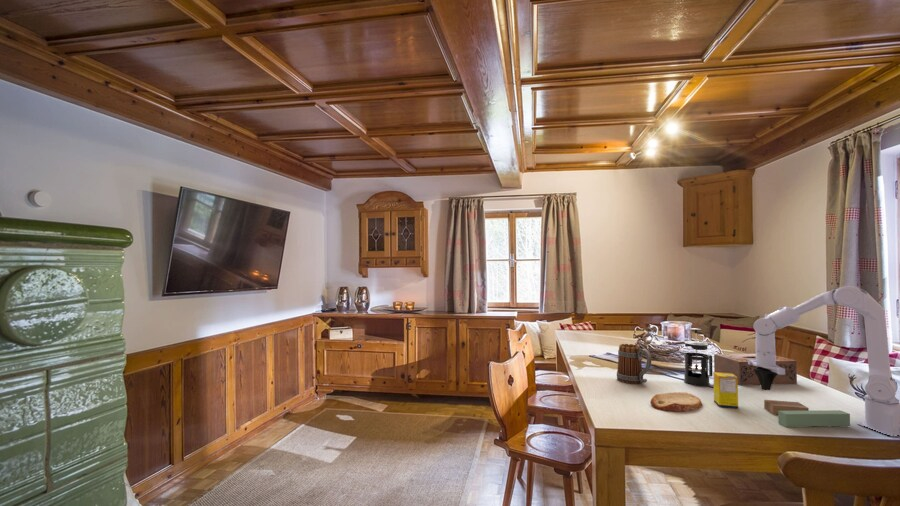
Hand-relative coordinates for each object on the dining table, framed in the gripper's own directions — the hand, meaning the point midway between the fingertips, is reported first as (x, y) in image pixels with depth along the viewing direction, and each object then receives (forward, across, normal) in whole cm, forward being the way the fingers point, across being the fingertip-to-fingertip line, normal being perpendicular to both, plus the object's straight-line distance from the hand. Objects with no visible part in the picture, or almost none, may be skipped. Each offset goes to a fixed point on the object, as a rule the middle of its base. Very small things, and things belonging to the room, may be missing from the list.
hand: (765, 389), depth 147 cm
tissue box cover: (+6, -32, +20) cm, 38 cm away
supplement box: (+6, 0, -15) cm, 16 cm away
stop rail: (+5, +19, 0) cm, 20 cm away
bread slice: (+6, -1, -32) cm, 33 cm away
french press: (+6, -27, -8) cm, 28 cm away
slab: (+6, +8, 0) cm, 10 cm away
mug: (+6, -29, -34) cm, 45 cm away
